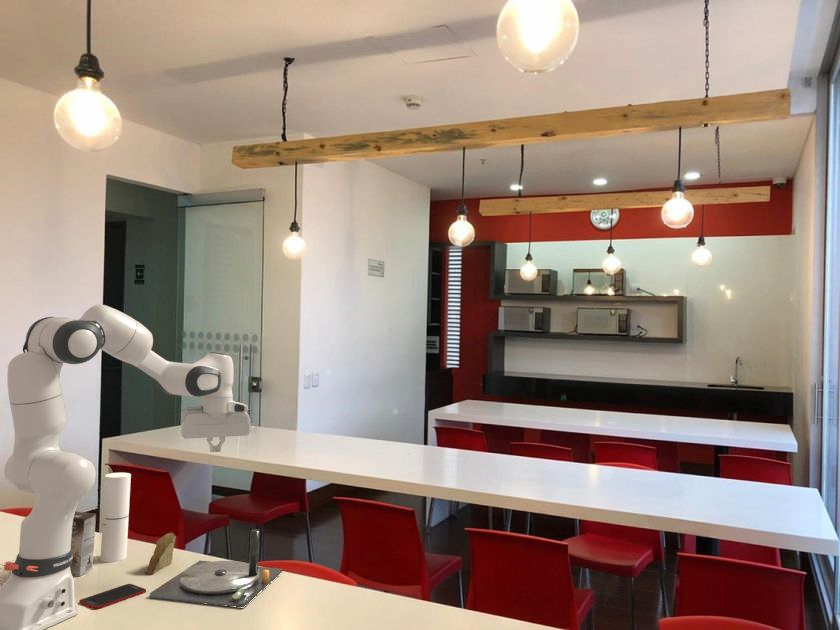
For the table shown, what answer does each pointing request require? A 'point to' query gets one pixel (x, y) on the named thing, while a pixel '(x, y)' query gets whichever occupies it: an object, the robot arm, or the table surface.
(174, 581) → the grey square base plate
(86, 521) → the coffee box
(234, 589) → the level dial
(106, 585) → the table surface
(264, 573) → the level mark
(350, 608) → the table surface
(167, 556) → the rock
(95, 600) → the cell phone
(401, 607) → the table surface
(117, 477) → the cylindrical container
